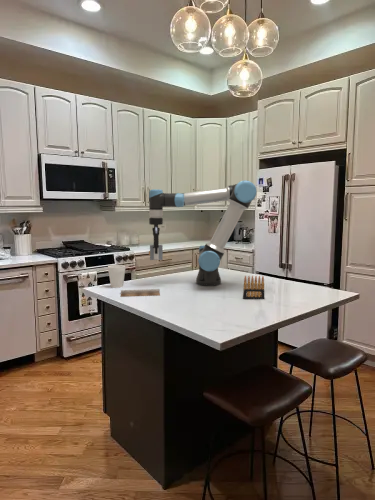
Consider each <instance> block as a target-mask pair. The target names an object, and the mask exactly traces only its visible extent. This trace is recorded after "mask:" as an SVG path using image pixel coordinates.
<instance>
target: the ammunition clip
mask: <svg viewBox="0 0 375 500" xmlns="http://www.w3.org/2000/svg"><path fill="white" fill-rule="evenodd" d="M242 293H243V294H242V299H243V300H265V298H266V297H265V279H264V275H262V276H261V275H259V276H257V275H255V277H254V275H252V276H250V275H248V277H247V275H244V279H243V292H242Z"/></svg>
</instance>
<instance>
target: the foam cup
mask: <svg viewBox="0 0 375 500" xmlns="http://www.w3.org/2000/svg"><path fill="white" fill-rule="evenodd" d="M107 271H108V276H109V281H110V282H109V283H110V287H111V288H113V289H119V288H123V287H124V283H125V282H124V281H125V274H126V273H125V272H126V265H124V264H112V265H108V266H107Z"/></svg>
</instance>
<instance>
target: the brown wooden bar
mask: <svg viewBox="0 0 375 500" xmlns="http://www.w3.org/2000/svg"><path fill="white" fill-rule="evenodd" d="M142 293H160V294H161V291H160V288H155V289H154V288H153V289H152V288H151V289H150V288H149V289H148V288H147V289H125V290H124V289H120V295H121V294H142Z"/></svg>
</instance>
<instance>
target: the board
mask: <svg viewBox="0 0 375 500" xmlns="http://www.w3.org/2000/svg"><path fill="white" fill-rule="evenodd" d="M157 296H161V292H160V293H142V294H121V293H120V297H121V298H125V297H126V298H129V297H157Z"/></svg>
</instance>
